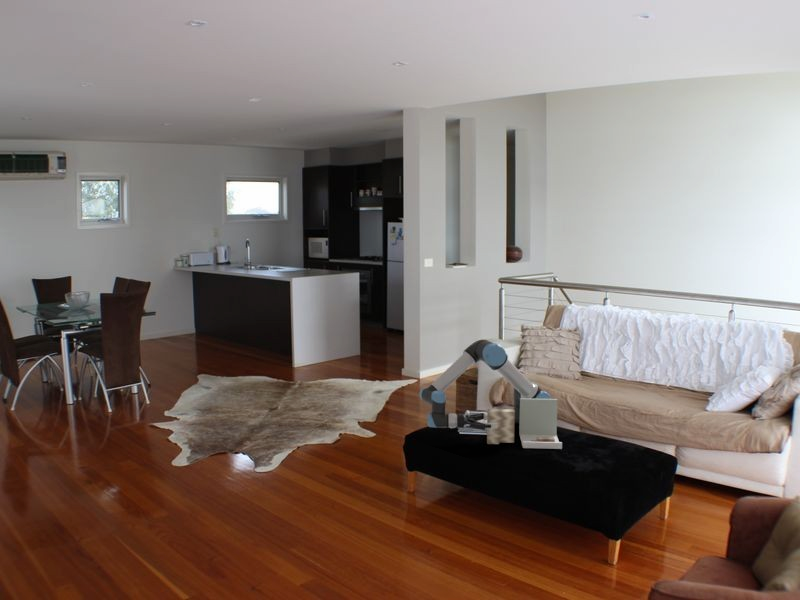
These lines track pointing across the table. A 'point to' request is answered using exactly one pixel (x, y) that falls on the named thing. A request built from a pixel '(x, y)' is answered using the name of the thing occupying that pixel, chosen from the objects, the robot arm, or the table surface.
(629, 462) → the table surface
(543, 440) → the offcut slab top
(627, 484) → the table surface
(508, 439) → the beige zigzag-marked block
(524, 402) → the tray with upright backboard
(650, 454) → the table surface
